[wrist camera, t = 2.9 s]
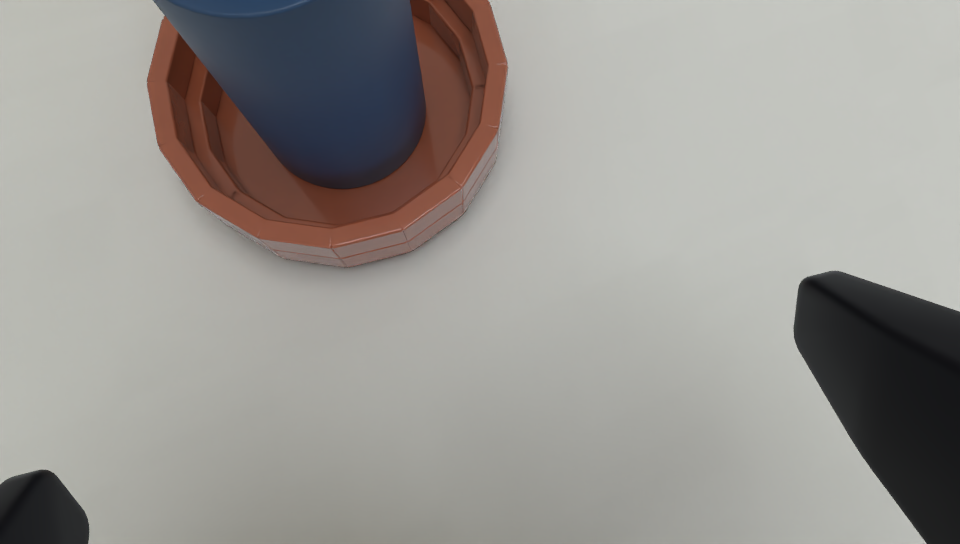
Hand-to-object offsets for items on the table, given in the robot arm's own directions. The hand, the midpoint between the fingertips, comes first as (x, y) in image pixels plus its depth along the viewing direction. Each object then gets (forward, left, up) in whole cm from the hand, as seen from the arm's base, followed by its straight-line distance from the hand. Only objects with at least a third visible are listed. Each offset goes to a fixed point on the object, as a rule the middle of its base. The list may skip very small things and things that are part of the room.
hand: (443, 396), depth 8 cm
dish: (+9, +6, -14) cm, 17 cm away
